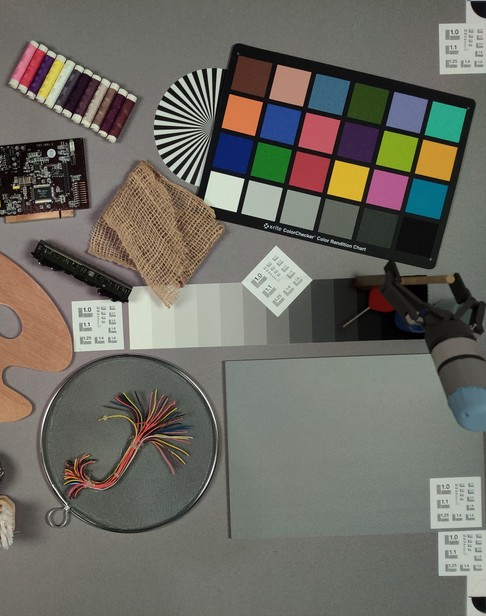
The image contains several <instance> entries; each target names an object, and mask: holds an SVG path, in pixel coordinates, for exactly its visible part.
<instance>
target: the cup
mask: <svg viewBox="0 0 486 616" xmlns="http://www.w3.org/2000/svg"><path fill="white" fill-rule="evenodd" d="M476 301H478V302H480V301H481V300H478V299H476ZM462 305H463V303H462V304H461V305H460V304H457V302H456V300H455V298H454V297H450V298H445V299H442V300H439V301H438V302H437V303H435V304H434V305H433V307H436V308H439V309H442V310H449V311H450V312H452V313H453V314H455V313H456V312H457V311H458V310H459V308H460V307H461V306H462ZM471 312H472V309H470V308H469V309H468V310H467V311H466V312H465V314H464V315H463V316H462V317H461V318H460V320H462V321H463V322H464V323H466V324H468V325H469V321H470V317H471ZM485 322H486V309H485V314H484V318H483V323H482V325H483V326H484V324H485Z"/></svg>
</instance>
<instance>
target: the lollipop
mask: <svg viewBox="0 0 486 616" xmlns="http://www.w3.org/2000/svg"><path fill="white" fill-rule="evenodd" d="M378 290H379V289H369V291H368V292H369V293H368V297H367V298H368V299H367V300H368V301H367V306H368V307H366V308H365V309H364V310H363V311H361V312H360V313H358V314H357V315H356V316H354V317H353V318H352V319H350V320H349V321H347V322H346V323H344V325H342V327H343V328H345V327H346V326H348V325H350V323H351V322H353V321H354V320H356V319H358V317H360V316H361V315H362V314H364V313H365V312H367V311H368V310H373V311H376V312H380V313H381V312H382V313H389V312H393V311H396V310H395V309H394V308H393V307H392V306H391V305H390V304H389V302H388V301H387V300H386V299H385V298H384V297H383V296H382V295H381V294H380V292H379V291H378Z"/></svg>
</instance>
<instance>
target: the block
mask: <svg viewBox="0 0 486 616" xmlns="http://www.w3.org/2000/svg"><path fill="white" fill-rule="evenodd" d="M384 276H385V273H383V274H368V275H356V276H355V279H354V281H353V284H352V287H353V288H357V289H360V290H364V291H365V290H370V289H379V288H380V287H381V286H382V284H383V283H384V282H385V279H384Z"/></svg>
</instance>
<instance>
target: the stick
mask: <svg viewBox="0 0 486 616" xmlns="http://www.w3.org/2000/svg"><path fill="white" fill-rule="evenodd" d="M453 275H454V274H442V275H441V274H440V275H439V274H437V275H423V276H421V275H419V276H403V277H401V279H402V282H401V283H400V284H402V285H403V286H406V285H407V286H409V285H410V286H411V285H413V286H414V285H441V284H442V285H444V284H447V285H448V283H453V282H454V280H455V278H454V276H453Z"/></svg>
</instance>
